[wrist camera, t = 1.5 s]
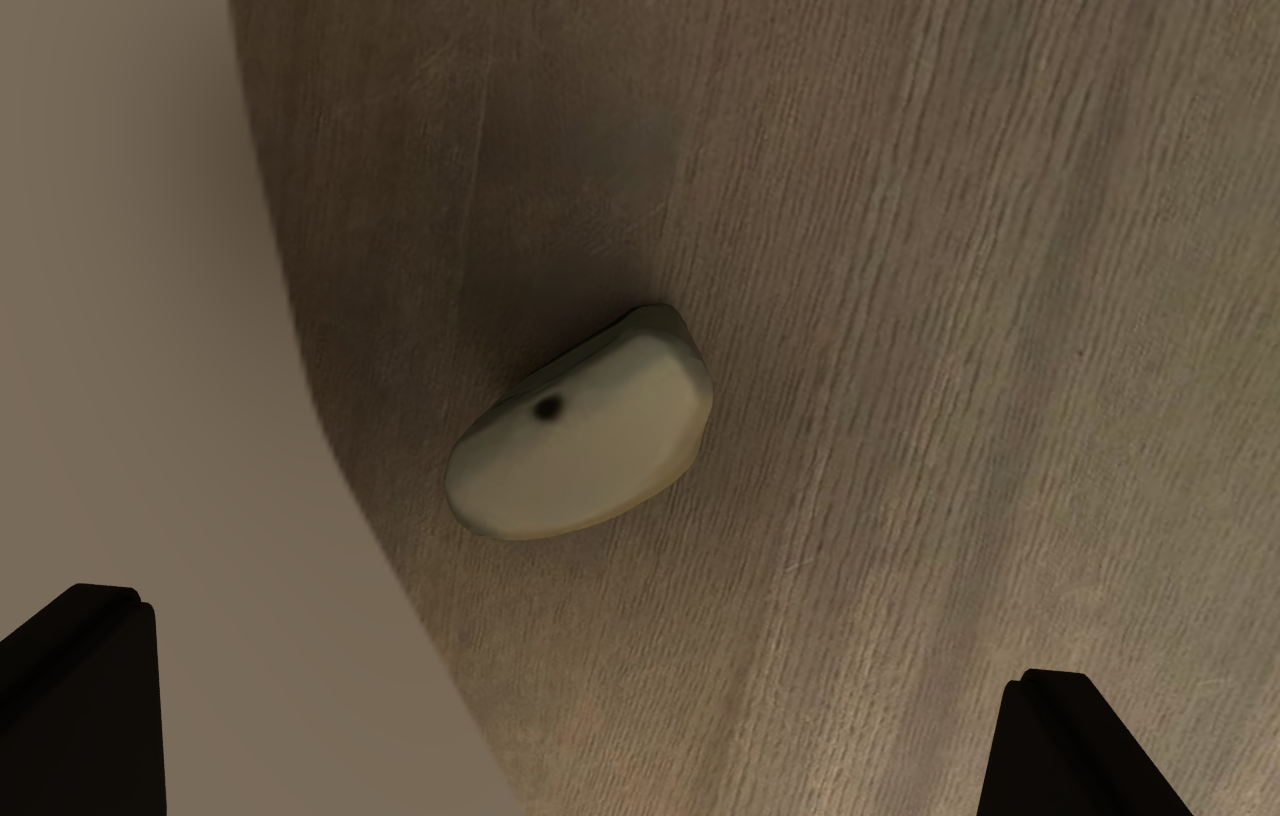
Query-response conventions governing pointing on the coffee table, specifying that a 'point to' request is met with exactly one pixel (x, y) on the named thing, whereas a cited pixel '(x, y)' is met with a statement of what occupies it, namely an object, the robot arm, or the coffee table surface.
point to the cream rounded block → (585, 432)
